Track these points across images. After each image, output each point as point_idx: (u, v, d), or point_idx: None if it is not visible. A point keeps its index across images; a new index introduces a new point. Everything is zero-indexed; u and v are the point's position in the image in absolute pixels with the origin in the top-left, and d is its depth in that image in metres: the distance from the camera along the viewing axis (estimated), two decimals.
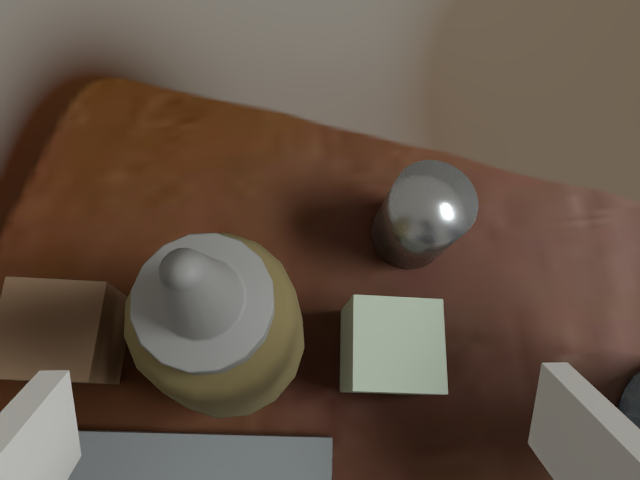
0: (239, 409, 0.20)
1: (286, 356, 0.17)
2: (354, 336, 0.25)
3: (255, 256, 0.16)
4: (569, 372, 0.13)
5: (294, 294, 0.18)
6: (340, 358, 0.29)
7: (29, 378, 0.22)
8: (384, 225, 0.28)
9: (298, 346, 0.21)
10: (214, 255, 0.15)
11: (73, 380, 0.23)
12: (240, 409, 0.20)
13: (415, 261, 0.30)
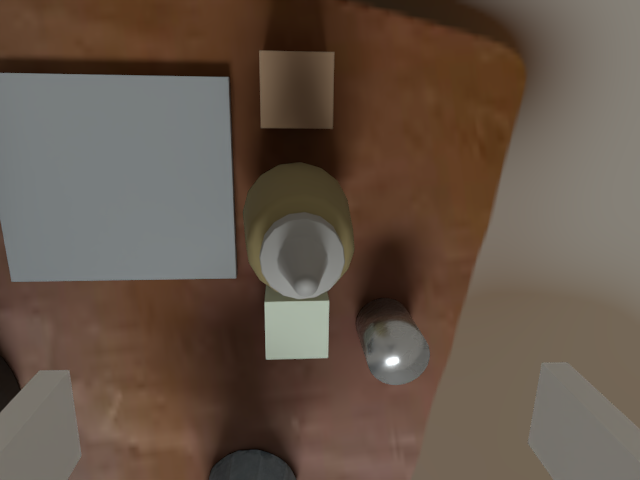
0: None
1: (276, 291, 0.28)
2: (300, 301, 0.36)
3: (330, 286, 0.26)
4: (569, 372, 0.13)
5: None
6: None
7: (261, 86, 0.31)
8: (383, 315, 0.39)
9: None
10: (329, 264, 0.25)
11: (261, 117, 0.32)
12: None
13: (359, 333, 0.41)
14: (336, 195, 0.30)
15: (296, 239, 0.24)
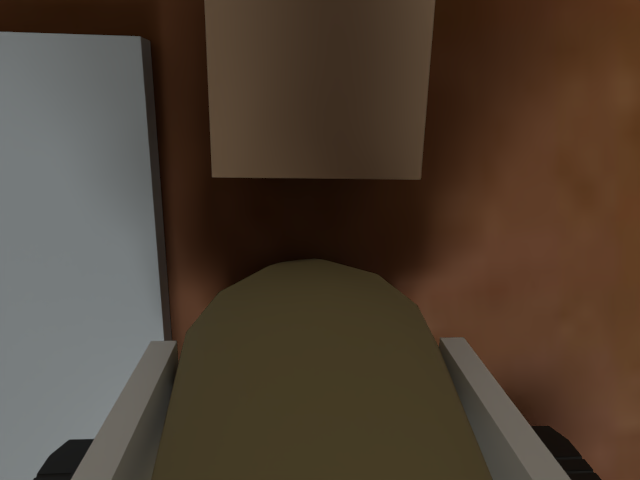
0: None
1: None
2: None
3: None
4: (461, 345, 0.14)
5: None
6: None
7: (210, 52, 0.10)
8: None
9: None
10: None
11: (212, 147, 0.11)
12: None
13: None
14: (455, 427, 0.09)
15: None
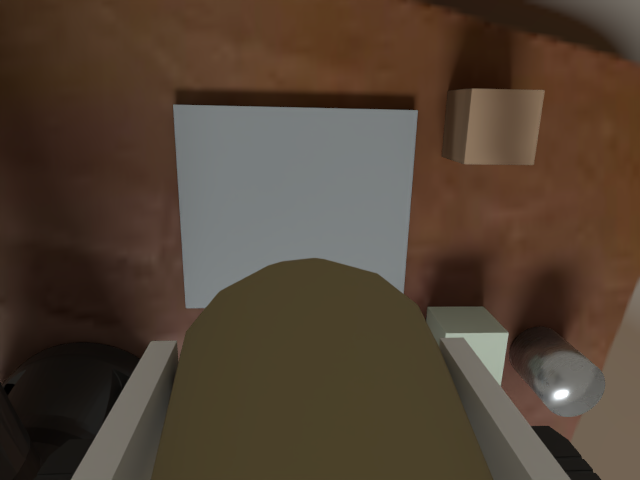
0: None
1: None
2: (480, 333, 0.36)
3: None
4: (461, 345, 0.14)
5: None
6: (450, 307, 0.41)
7: (469, 123, 0.32)
8: (551, 346, 0.39)
9: None
10: None
11: (465, 153, 0.32)
12: None
13: (519, 362, 0.41)
14: (456, 426, 0.09)
15: None
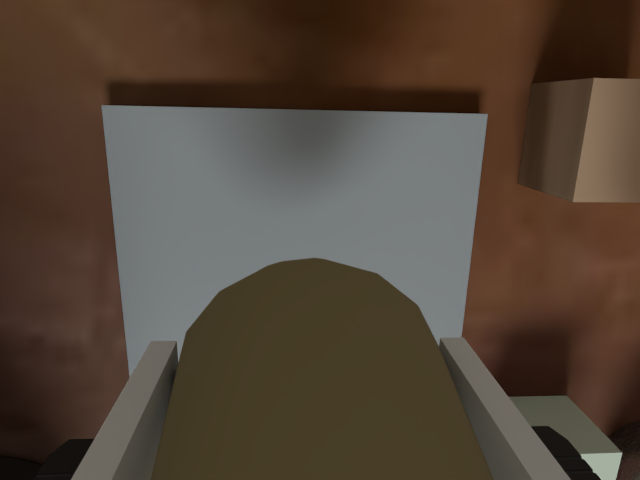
0: None
1: None
2: (580, 454, 0.24)
3: None
4: (461, 345, 0.14)
5: None
6: (520, 398, 0.28)
7: (585, 135, 0.19)
8: None
9: None
10: None
11: (576, 185, 0.20)
12: None
13: (619, 477, 0.28)
14: (456, 426, 0.09)
15: None
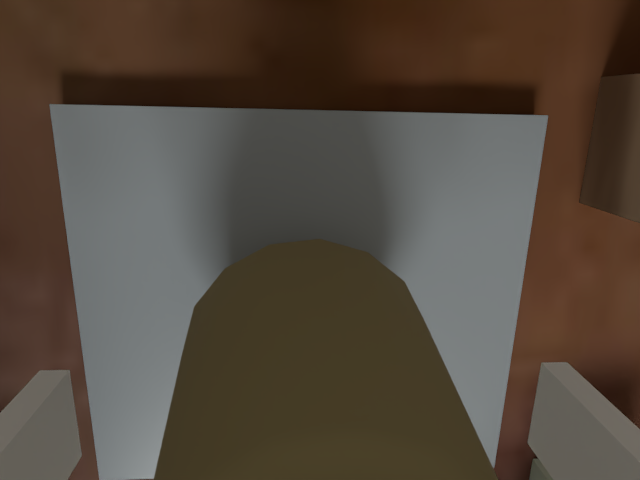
0: None
1: None
2: None
3: None
4: (569, 372, 0.13)
5: None
6: None
7: None
8: None
9: None
10: None
11: None
12: None
13: None
14: (434, 364, 0.10)
15: None
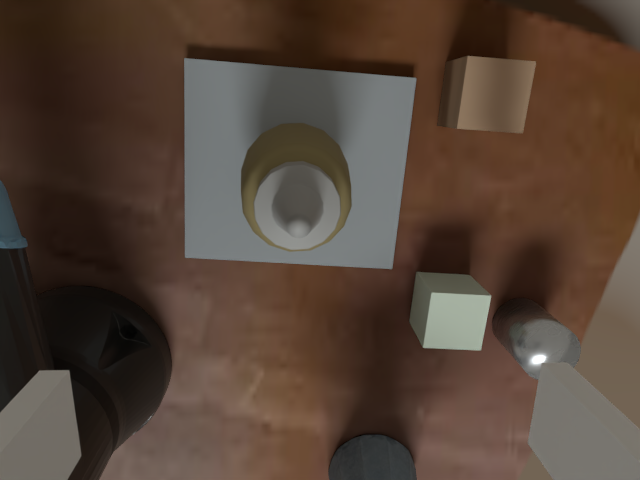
0: None
1: (269, 244, 0.28)
2: (464, 294, 0.38)
3: (324, 238, 0.25)
4: (569, 372, 0.13)
5: (308, 249, 0.28)
6: (438, 273, 0.42)
7: (463, 89, 0.33)
8: (532, 314, 0.40)
9: None
10: (325, 215, 0.25)
11: (459, 118, 0.34)
12: None
13: (500, 330, 0.42)
14: (336, 153, 0.29)
15: (292, 185, 0.24)
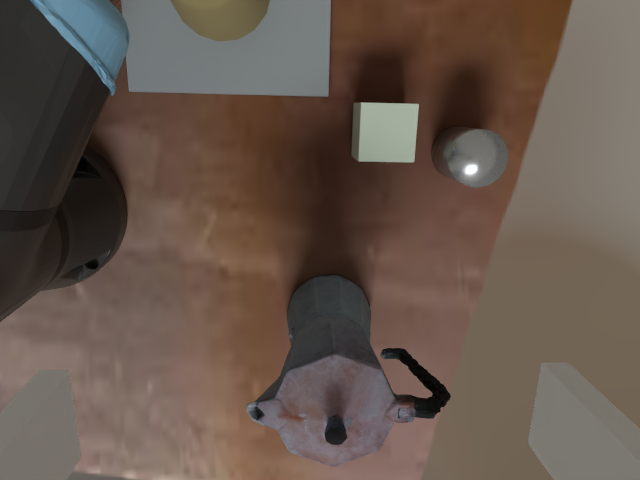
0: None
1: (181, 4, 0.30)
2: (393, 103, 0.40)
3: None
4: (569, 372, 0.13)
5: (218, 8, 0.30)
6: None
7: None
8: (463, 129, 0.42)
9: (203, 24, 0.33)
10: None
11: None
12: None
13: (437, 153, 0.44)
14: None
15: None
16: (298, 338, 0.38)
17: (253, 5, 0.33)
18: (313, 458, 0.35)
